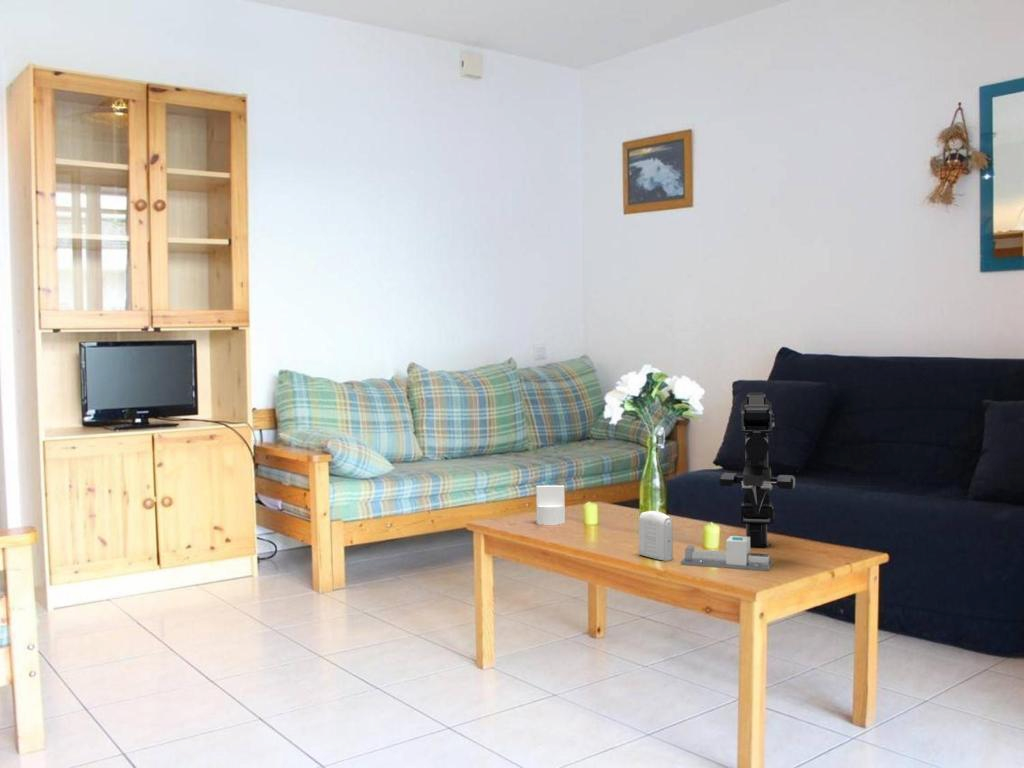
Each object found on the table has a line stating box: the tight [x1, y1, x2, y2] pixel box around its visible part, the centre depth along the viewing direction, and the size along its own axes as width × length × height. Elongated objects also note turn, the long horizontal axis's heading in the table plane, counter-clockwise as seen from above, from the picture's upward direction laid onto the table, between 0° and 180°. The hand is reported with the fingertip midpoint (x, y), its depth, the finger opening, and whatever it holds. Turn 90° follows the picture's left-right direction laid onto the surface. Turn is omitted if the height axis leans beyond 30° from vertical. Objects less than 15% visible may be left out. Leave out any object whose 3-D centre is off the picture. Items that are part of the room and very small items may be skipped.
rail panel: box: [680, 544, 773, 572], centre depth 249 cm, size 8×22×4 cm, turn 68°
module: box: [725, 535, 751, 566], centre depth 248 cm, size 7×5×7 cm
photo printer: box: [638, 510, 674, 562], centre depth 258 cm, size 10×4×12 cm, turn 37°
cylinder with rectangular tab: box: [535, 484, 566, 525], centre depth 308 cm, size 9×9×12 cm
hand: (756, 513), depth 251 cm, fingers closed
